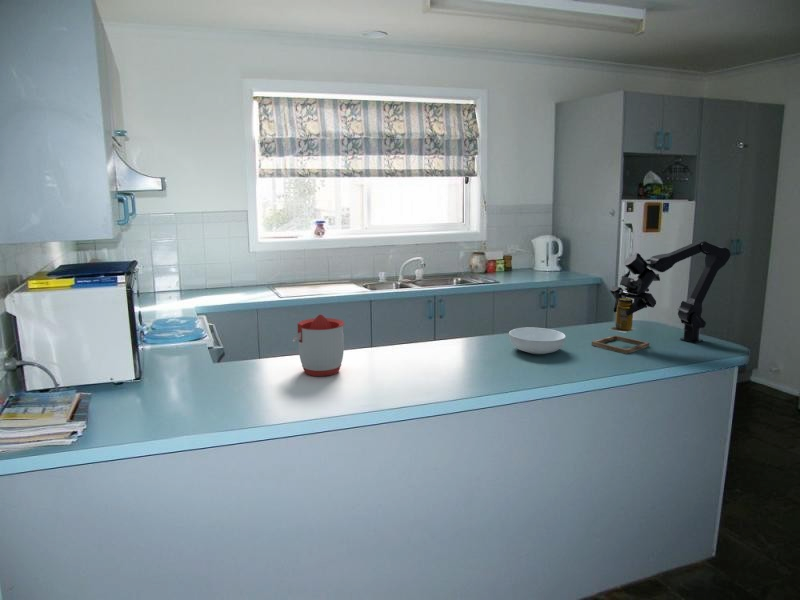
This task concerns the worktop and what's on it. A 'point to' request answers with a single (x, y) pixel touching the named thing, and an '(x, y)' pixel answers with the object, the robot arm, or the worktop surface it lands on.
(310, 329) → the citrus juicer
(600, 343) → the walnut frame
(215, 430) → the worktop surface
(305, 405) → the worktop surface
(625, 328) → the condiment
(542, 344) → the serving bowl
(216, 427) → the worktop surface
